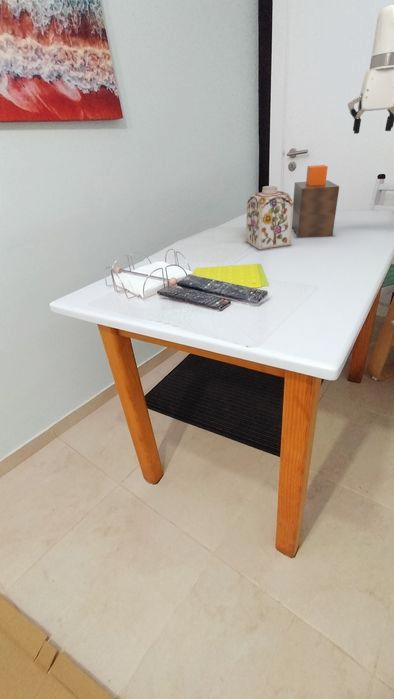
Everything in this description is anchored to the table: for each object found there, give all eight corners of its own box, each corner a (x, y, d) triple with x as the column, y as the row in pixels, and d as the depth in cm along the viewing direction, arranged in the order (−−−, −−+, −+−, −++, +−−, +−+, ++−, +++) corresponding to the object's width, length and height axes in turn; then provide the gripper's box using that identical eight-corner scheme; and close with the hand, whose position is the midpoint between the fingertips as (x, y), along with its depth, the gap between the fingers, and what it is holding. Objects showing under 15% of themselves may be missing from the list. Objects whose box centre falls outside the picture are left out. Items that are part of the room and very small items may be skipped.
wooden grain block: (322, 225, 133) (327, 180, 125) (332, 235, 119) (339, 186, 111) (291, 226, 135) (294, 182, 126) (297, 237, 121) (301, 188, 112)
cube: (322, 182, 120) (324, 165, 117) (325, 184, 116) (327, 166, 113) (305, 183, 121) (307, 166, 118) (308, 185, 116) (310, 167, 113)
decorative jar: (245, 241, 120) (246, 186, 111) (275, 237, 122) (278, 183, 113) (259, 250, 111) (260, 190, 101) (291, 245, 113) (296, 186, 103)
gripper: (409, 62, 102) (395, 130, 111) (349, 68, 104) (341, 134, 113) (421, 58, 95) (405, 129, 105) (357, 64, 98) (347, 134, 107)
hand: (371, 132), depth 109 cm, fingers open, 9 cm apart
